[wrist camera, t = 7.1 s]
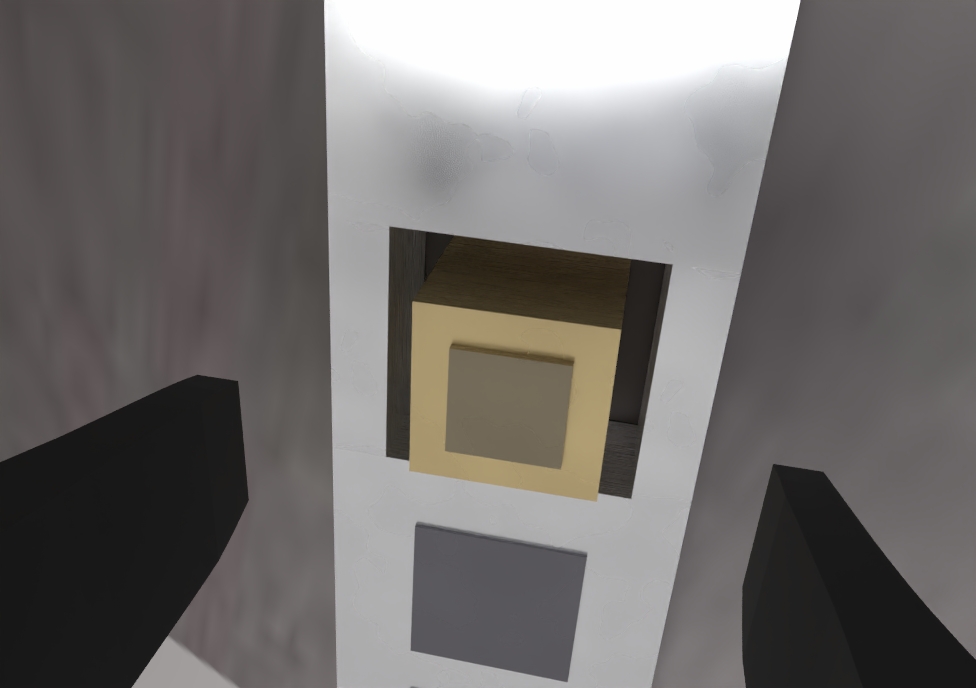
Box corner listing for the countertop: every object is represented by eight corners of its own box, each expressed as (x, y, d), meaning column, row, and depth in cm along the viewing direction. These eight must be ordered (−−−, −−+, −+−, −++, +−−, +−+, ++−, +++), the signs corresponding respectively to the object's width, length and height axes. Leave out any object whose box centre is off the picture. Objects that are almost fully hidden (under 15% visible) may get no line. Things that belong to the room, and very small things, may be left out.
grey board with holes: (788, -46, 17) (808, -31, 14) (625, 743, 27) (618, 838, 24) (375, -82, 18) (320, -75, 15) (370, 689, 28) (337, 775, 26)
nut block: (632, 251, 20) (620, 334, 17) (610, 402, 22) (596, 507, 18) (458, 229, 21) (409, 306, 17) (451, 379, 23) (406, 476, 19)
